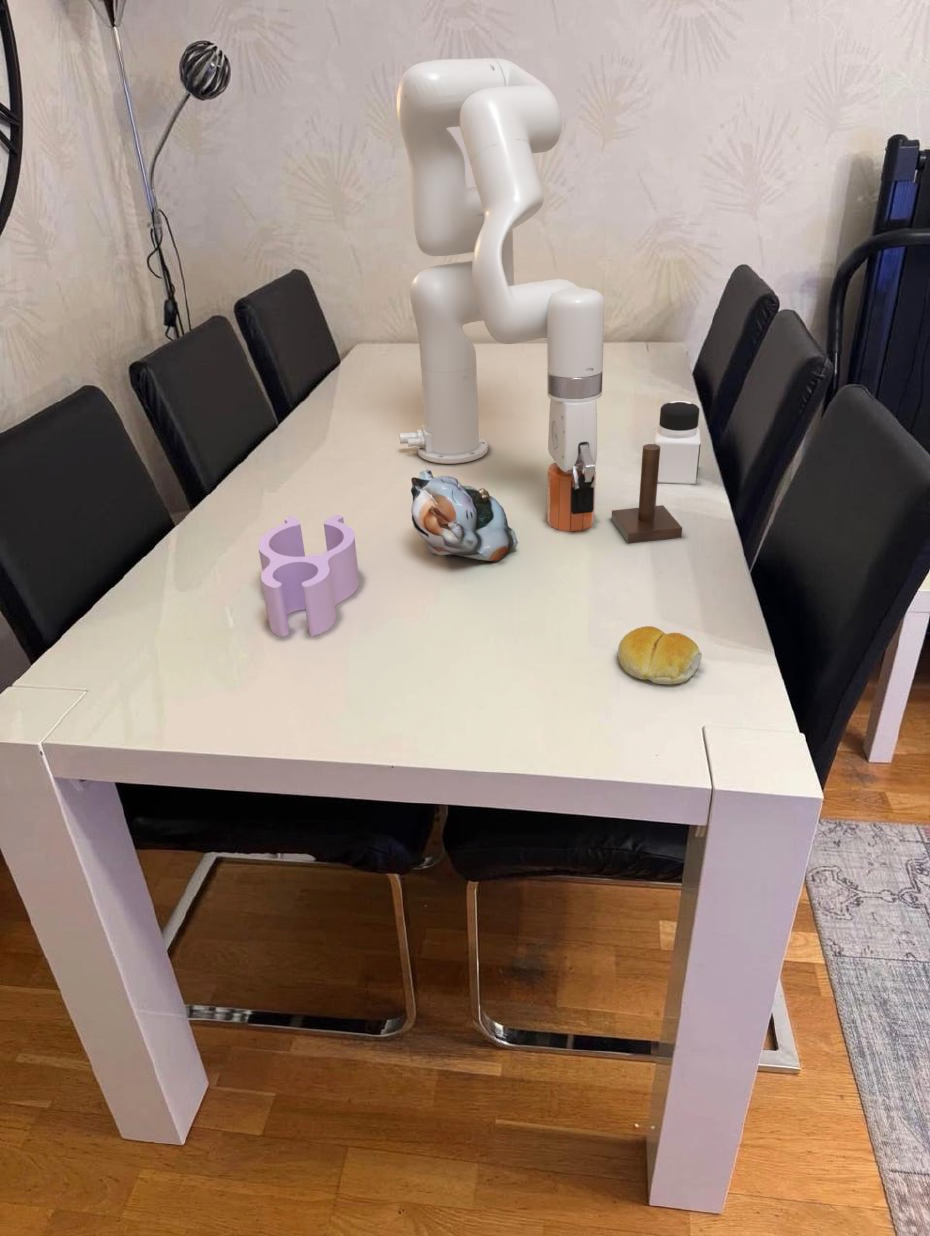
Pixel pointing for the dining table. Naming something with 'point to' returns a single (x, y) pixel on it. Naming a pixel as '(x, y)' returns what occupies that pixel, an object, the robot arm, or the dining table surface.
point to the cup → (564, 501)
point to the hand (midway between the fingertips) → (573, 499)
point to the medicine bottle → (678, 442)
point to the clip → (307, 574)
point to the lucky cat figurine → (460, 519)
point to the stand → (647, 507)
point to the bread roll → (659, 655)
